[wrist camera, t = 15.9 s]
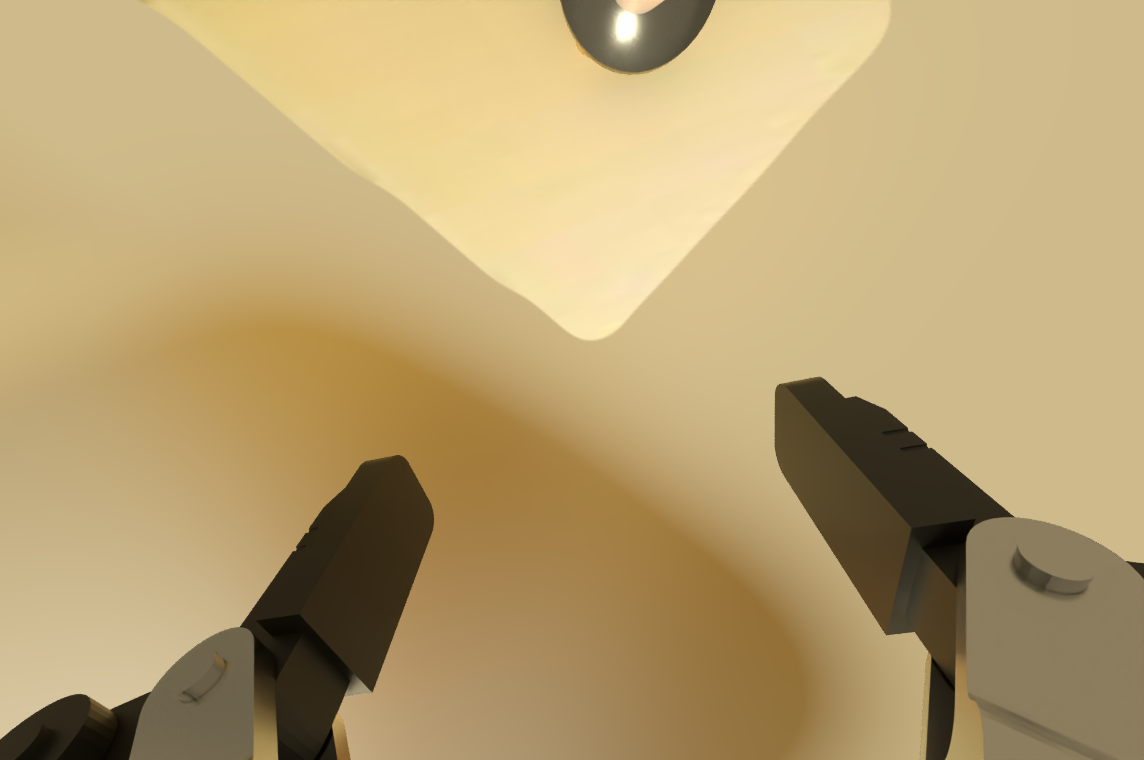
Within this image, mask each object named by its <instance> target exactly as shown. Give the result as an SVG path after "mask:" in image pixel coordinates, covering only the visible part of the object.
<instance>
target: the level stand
mask: <svg viewBox="0 0 1144 760" xmlns="http://www.w3.org/2000/svg"><path fill="white" fill-rule="evenodd" d="M560 2H561V6H562V10H563V14H564V17H565V19H566V22H567V25H568V27H569V29H570V31H571V33H572V35H573V37H574V39H575V41H576V44H577V47H578V49H579V50H580V51H581V53H582V54H584V55H585V56H587V57H590V58H591V59H592V60H593V61H594V62H596V63H597V64H599V65H600V66H602V67H604V68H606V69H608V70H610V71H613V72H617V73H620V74H628V75H632V74H643V73H648V72H651V71H653V70H656V69H659V68H660V67H662V66H664V65H666V64H668V63H669V62H670V61H672V60H673V59H675V58H676V57H677V56H678V55H679V54H680V53H681V52H682V51H684V50H685V49H686V48H687V47H688V46H689V45H690V43H691V42H692V41H693V40H694V39H695V38H696V36H697V35H698V33H699V32H700V30H701V29H702V27H703V26H704V24H705V22H706V20H707V19H708V17H709V15H710V13H711V10H712V8H713V5H714V3H715V0H664V1H663V2H662V3H660V4H659V5H657V6H656V7H655V8H653V9H652V10H650V11H648V12H646V13H643V14H632V13H629V12H627V11H625V10H624V9H622V8H621V7H620V6H619V5H618V3H617V2H616V0H560Z"/></svg>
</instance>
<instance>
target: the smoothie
mask: <svg viewBox="0 0 1144 760" xmlns="http://www.w3.org/2000/svg"><path fill="white" fill-rule="evenodd" d="M663 1H664V0H616V2H617V3H618V5H619V6H620V7H621V8H622V9H624V10H625V11H627V12H629V13H632V14H643V13H646V12H648V11H650V10H652V9H653V8H655V7H656V6H657V5H659V4H660V3H662V2H663Z"/></svg>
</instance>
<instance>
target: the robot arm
mask: <svg viewBox="0 0 1144 760" xmlns="http://www.w3.org/2000/svg"><path fill="white" fill-rule="evenodd" d="M775 451H776V456H777V460H778V463H779V466H780V469H781V471H782V473H783V474H784V476H785V478H786V480H787V481H788V483H789V484H790V486H791V487H792V489H793V491H794V492H795V493H796V495H797V497H798V498H799V500H800V501H801V503H802V504H803V506H804V508H805V509H806V511H807V512H808V514H809V516H810V517H811V519H812V520H813V522H814V523H815V525H816V526H817V528H818V530H819V531H820V533H821V534H822V536H823V537H824V539H825V540H826V542H827V544H828V545H829V547H830V548H831V550H832V551H833V553H834V555H835V556H836V558H837V559H838V561H839V562H840V564H841V566H842V567H843V568H844V570H845V572H846V573H847V575H848V576H849V578H850V580H851V581H852V583H853V584H854V586H855V587H856V589H857V591H858V592H859V594H860V595H861V597H862V598H863V600H864V601H865V603H866V604H867V606H868V608H869V609H870V611H871V612H872V614H873V615H874V617H875V618H876V620H877V622H878V623H879V625H880V626H881V628H882V630H883V631H884V633H885V634H886V635H891V634H901V633H908V632H915V633H916V634H917V636H918V637H919V639H920V640H921V642H922V643H923V644H924V646H925V647H926V649H927V650H928V655H927V659H926V669H925V685H924V699H923V715H922V731H921V746H920V760H1144V563H1136V562H1129V561H1124V560H1123V559H1122V558H1121V557H1119V556H1118V555H1117V554H1115V553H1113V552H1112V551H1111V550H1109V549H1107V548H1106V547H1104V546H1102V545H1101V544H1099V543H1097V542H1095V541H1093V540H1091V539H1090V538H1087V537H1085V536H1083V535H1080V534H1078V533H1076V532H1074V531H1071V530H1068V529H1066V528H1063V527H1060V526H1057V525H1053V524H1050V523H1046V522H1042V521H1037V520H1032V519H1025V518H1016V517H1014V516H1013V515H1011V514H1010V513H1009V512H1008V511H1006V510H1005V509H1004V508H1003V507H1002V506H1001V505H999V504H998V503H997V502H996V501H994V500H993V499H992V498H991V497H990V496H989V495H987V494H986V493H985V492H984V491H983V490H981V489H980V488H979V487H978V486H977V485H975V484H974V483H973V482H972V481H971V480H969V479H968V478H967V477H966V476H965V475H963V474H962V473H961V472H960V471H959V470H958V469H956V468H955V467H954V466H953V465H952V464H950V463H949V462H948V461H947V460H945V459H944V458H943V457H942V456H941V455H940V454H938V453H937V452H936V451H935V450H934V449H932V448H928V447H927V444H926V443H925V442H924V441H923V440H922V439H921V438H919V437H918V436H917V435H916V434H915V433H913V432H909V431H908V428H907V427H906V426H905V425H904V424H903V423H901V422H900V421H899V420H898V419H897V418H895V417H894V416H893V415H892V414H891V413H889V412H888V411H887V410H886V409H884V408H881V407H879V406H877V405H875V404H872V403H870V402H868V401H865V400H863V399H861V398H858V397H856V396H855V397H850V398H844V397H843V396H842V395H841V394H840V393H839V392H838V391H837V390H835V389H834V388H833V387H832V386H831V385H830V384H829V383H828V382H827V381H826V380H825V379H823V378H821V377H815V378H809V379H804V380H799V381H793V382H789V383H783V384H779V385H778V386H777V387H776V391H775ZM433 525H434V515H433V509H432V506H431V503H430V501H429V499H428V498H427V496H426V494H425V492H424V490H423V488H422V487H421V485H420V483H419V481H418V479H417V478H416V476H415V474H414V472H413V470H412V469H411V467H410V465H409V463H408V461H407V460H406V459H405V458H404V457H403V456H400V455H396V456H391V457H386V458H380V459H375V460H370V461H366V462H364V463H362V464H361V466H360V467H359V468H358V470H357V471H356V473H355V474H354V476H353V477H352V479H351V480H350V482H349V483H348V485H347V486H346V488H344V489H343V490H342V491H341V492H340V493H339V494H338V495H337V496H336V497H335V498H333V499H332V500H331V501H330V502H329V503H328V504H327V505H326V506H325V507H324V508H323V509H322V511H321V512H320V513H319V515H318V516H317V518H316V519H315V521H314V522H313V524H312V525H311V526H310V528H309V533H305V535H304V536H303V538H302V539H301V541H300V542H299V543H298V545H297V546H296V548H297V550H296V551H293V552H292V554H291V555H290V556H289V558H288V559H287V561H286V562H285V564H284V565H283V567H282V568H281V569H280V571H279V572H278V574H277V575H276V576H275V578H274V579H273V581H272V582H271V583H270V585H269V586H268V588H267V589H266V591H265V592H264V593H263V595H262V596H261V598H260V599H259V601H258V602H257V603H256V605H255V606H254V608H253V609H252V611H251V612H250V613H249V615H248V616H247V618H246V619H245V621H244V622H243V623H242V625H241V626H240V627H237V628H230V629H227V630H224V631H222V632H219V633H217V634H215V635H213V636H211V637H209V638H207V639H206V640H204V641H203V642H201V643H200V644H198V645H197V646H195V647H194V648H193V649H191V650H190V651H189V652H187V653H186V654H185V655H184V656H183V657H182V658H180V659H179V660H178V661H177V662H176V663H175V664H174V665H173V666H172V667H171V668H170V669H169V670H168V671H167V672H166V673H165V675H164V676H163V677H162V678H161V679H160V680H159V682H158V683H157V684H156V686H155V687H154V689H153V690H152V691H151V692H149V693H146V694H144V695H142V696H140V697H138V698H135V699H133V700H131V701H129V702H126V703H124V704H122V705H120V706H117V707H115V708H113V709H111V710H109V709H107V708H106V707H104V706H103V705H101V704H99V703H98V702H96V701H95V700H93V699H91V698H90V697H88V696H87V695H83V694H75V695H71V696H68V697H65V698H62V699H60V700H57V701H56V702H53V703H52V704H50V705H48V706H46V707H45V708H43V709H41V710H39V711H38V712H36V713H34V714H33V715H32V716H30V717H29V718H27V719H26V720H24V721H23V722H22V723H20V724H19V725H18V726H16V727H15V728H14V729H12V730H11V731H10V732H9V733H8V734H6V735H5V736H4V737H3V738H2V739H0V760H351V759H350V753H349V748H348V742H347V737H346V731H345V726H344V723H343V720H342V718H341V717H340V715H339V714H337V712H338V710H339V707H340V705H341V703H342V700H343V698H344V696H351V695H358V694H367V693H372V692H373V689H374V687H375V684H376V681H377V679H378V676H379V673H380V671H381V668H382V665H383V663H384V660H385V657H386V655H387V652H388V649H389V646H390V644H391V641H392V639H393V636H394V633H395V630H396V628H397V625H398V622H399V619H400V617H401V614H402V612H403V609H404V606H405V604H406V601H407V598H408V596H409V593H410V590H411V587H412V584H413V582H414V579H415V577H416V574H417V571H418V569H419V566H420V563H421V561H422V558H423V555H424V553H425V550H426V547H427V544H428V542H429V539H430V536H431V534H432V531H433Z"/></svg>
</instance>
